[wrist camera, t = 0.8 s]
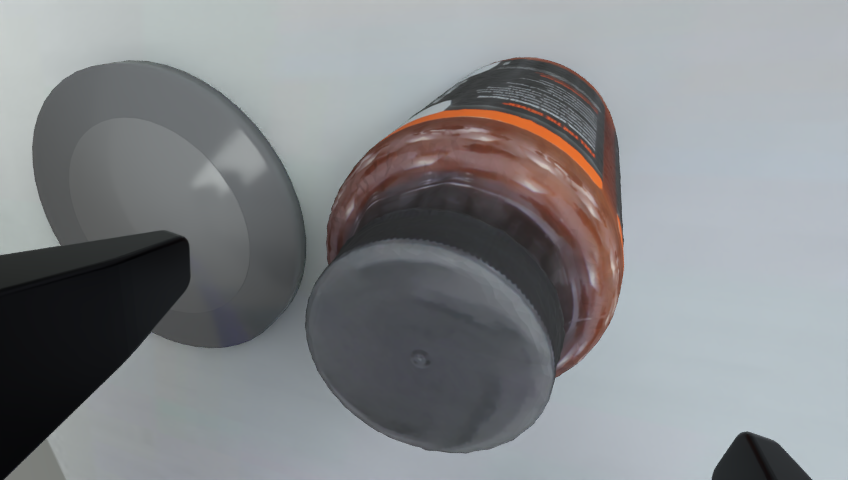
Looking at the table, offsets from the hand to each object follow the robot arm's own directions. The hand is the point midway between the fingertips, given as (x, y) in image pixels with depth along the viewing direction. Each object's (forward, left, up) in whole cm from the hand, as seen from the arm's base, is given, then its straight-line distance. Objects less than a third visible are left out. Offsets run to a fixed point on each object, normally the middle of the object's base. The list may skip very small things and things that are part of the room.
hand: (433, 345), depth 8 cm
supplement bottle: (0, 0, -11) cm, 11 cm away
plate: (-7, +14, -11) cm, 19 cm away
